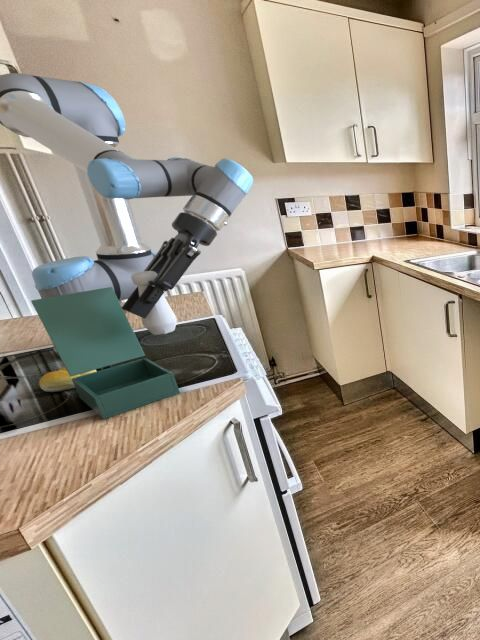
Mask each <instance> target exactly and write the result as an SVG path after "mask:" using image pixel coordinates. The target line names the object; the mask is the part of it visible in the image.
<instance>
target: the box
mask: <svg viewBox="0 0 480 640" xmlns="http://www.w3.org/2000/svg"><path fill="white" fill-rule="evenodd" d="M96 371H97V372H93V373H90V374H86V375H83V376H79V377H76V378H72V381H73V383H74V386H75V388H74V389H75V390H76V393H77V394H78V397H79V399H80V400H81V401H82V402H83V403H84V404H86V405H87V406H88V407H89V408H91V410H93V412H95V413H96V414H97V415H98V416H100V417H101V418H102V419H103V420H106V419H109V418H112V417H114V416H117V415H121V414H123V413H126V412H129V411H131V410H135V409H137V408H140V407H143V406H146V405H148V404H152V403H154V402H158V401H160V400H163V399H165V398H166V399H167V398H168V397H171V396H175V395H177V394H180V392H181V391H180V389H179V386H178V382H177V381H176V378H175V375H174V373H173V372H172V371H171V370H168V369H167V368H165V367H163V366H161V365H159V364H157V363H156V362H155V361H153V360H151V359H149V358H147V357H144V358H140V359H139V358H138V359H135V360H132V361H129V362H125V363H122V364H119V365H118V364H117V365H116V366H111V367H108V368H107V367H106V368H104V369H99V370H96Z"/></svg>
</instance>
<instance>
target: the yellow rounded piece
mask: <svg viewBox="0 0 480 640" xmlns="http://www.w3.org/2000/svg"><path fill="white" fill-rule="evenodd" d="M97 371H98V370H97V369H96V370H92V371H89V372H85V373H82V374H78V375H75V376H71V377H70V375H69V373H68V372H67V370H66V368H65V366H64V365H63V366H62V367H61V368H60V369H59V370H53V371H49V372H47V373H45V374H44V375H42V376H41V378H40V379H39V382H38V385H39V387H40V389H41V390H42V391H44V392H47V393H57V392H63V391H68V390H73V389H76V388H75V386H74V383H73V381H72V378H76V377H79V376H83V375H86V374H90V373H93V372H97Z"/></svg>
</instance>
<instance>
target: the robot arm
mask: <svg viewBox="0 0 480 640" xmlns="http://www.w3.org/2000/svg"><path fill="white" fill-rule="evenodd" d="M0 125H1V126H2V127H4V128H6V129H8V130H9V131H10V132H13V133H14V134H16V135H19V136H22V137H25V138H30V139H32V140H34V141H35V142H37V143H39V144H40V145H42V146H44V147H46V148H47V149H48V150H49V151H51V152H53V153H55V154H57V155H58V156H60V157H62V158H63V159H64V160H66V161H68V162H69V163H71V164H72V165H73V167H74V170H75V173H76V175H77V176H76V177H77V179H78V181H79V185H80V187H81V190H82V193H83V196H84V199H85V203H86V205H87V208H88V212H89V214H90V216H91V219H92V223H93V226H94V229H95V232H96V234H97V238H98V241H99V244H100V246H99V247H98V248H97V249H96V250H95V254H96V258H97V259H96V260H94V259H93V258H92V257H91V256H83V255H82V256H81V255H80V256H73V257H69V258H62V259H57V260H54V261H50V262H46V263H42V264H40V265H37V266H36V267H35V268H33V270H32V271H31V275H32V279H33V281H34V285H35V289H36V291H38V294H39V296H40V299H43V298H49V297H55V296H61V295H66V294H72V293H78V292H84V291H90V290H96V289H102V288H108V287H112V288H113V290H114V292H115V294H116V296H117V298H118V300H119V302H122V301H125V300H126V301H125V302H124V304H123V305H122V308H121V309H123V311H124V312H125V311H126V312H128V313H131V314H133V315H135V316H138V317H140V318H141V319H142V318H144V319H145V318H146V317H147V315H148V314H149V313H150V311H151V310H152V309H153V307H154V306H155V304H156V303H157V302H158V300H159V299H160V298H161V296H162V295H164V293H165V292H167V291H169V290H170V291H172V290H174V289H175V287H176V285H177V284H178V283H179V281H180V280H181V278H182V277H183V275H184V274H185V273H186V272H187V270H188V269H189V268H190V266H191V265H192V264H193V262H194V261H195V260H196V259H197V258H198V256H200V255H201V252H202V251H201V250H200V249H198V247H199V245H201V246H205V247H209V246H210V245H211V244H212V243H213V242H214V240H215V238H216V237H217V235H218V232H219V231H221V230H222V228H223V227H225V226H228V219H229V218H230V217H231V216H232V214H233V213H234V212H235V210H236V209H237V208H238V206H239V205H240V203H241V202H242V201H243V199H244V198H245V197H246V195H248V192H249V191H250V189H251V187H252V186H253V184H254V178H253V176H252V174H251V173H250V171H248V170H247V169H246V168H245V167H244V166H242V165H241V164H240V163H238V162H236V161H234V160H232V159H230V158H226V157H225V158H221V159H220V160H219V161H217V162H216V163H215V164H214V165H213V166H212V165H208V164H204V163H202V162H201V163H200V162H198V161H195V160H192V159H190V158H185V157H184V158H183V157H177V156H174V157H170V158H168V159H165V160H164V159H139V158H138V159H137V158H133V157H131V156H130V155H128V154H126V153H124V152H122V151H121V150H119V149H117V147H118V146H120V144H121V143H120V140H119V137H121V136H123V135H124V134H125V132H126V120H125V117H124V114H123V112H122V109H121V107H120V106H119V104H118V103H117V101H116V100H115V99H114V97H113V96H112V95H110V94H109V92H108V91H106V90H105V89H103V88H102V87H100V86H98V85H95V84H91V83H87V82H86V83H85V82H82V81H78V80H68V79H61V78H54V77H46V76H39V75H32V74H27V73H19V72H11V73H9V72H8V73H4V74H0ZM189 196H191V197H190V198H189V199H188V201H187V202H186V203H185V205H184V206H183V208H182V210H183V211H182V212H179V213H178V214H177V216H176V217H175V218H174V220H173V222H172V223H171V227H172V229H173V230H175V231H177V234H176V235H175V236H173V237H171V238H170V239H169V240H164V241H163V242H162V245H161V246H160V248H159V250H158V251H157V252H153V251H152V249H151V247H150V246H148V245H146V244H145V243H143V241H142V239H141V237H140V232H139V227H138V225H137V222H136V219H135V215H134V212H133V209H132V205H131V202H130V200H133V199H134V200H135V199H148V198H149V199H150V198H168V197H169V198H170V197H171V198H173V197H189ZM142 271H154V272H156V273H157V277H156V279H155V280H154V281H148V283H149V284H151V285H148V286H147V288H146V289H145V290H144V292H143V293H142V294H141V296H140V297H139V290H138V285H135V284H134V283H133V281H132V278H131V276H132V275H133V274H134V273H137V272H142ZM152 285H153V286H152ZM52 345H53V344H52ZM52 348H53V351H54V354H55V355H56V356H57V357H60V356H59V354H58V352H57V350H56V348H55V346H54V345H53V346H52Z"/></svg>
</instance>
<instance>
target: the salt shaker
mask: <svg viewBox="0 0 480 640" xmlns="http://www.w3.org/2000/svg"><path fill="white" fill-rule="evenodd" d="M156 277H157V273H156V272H154V271H142V272H137V273H134V274H133V275H132V276H131V278H132V281H133V283H134V284H135V285H138V290H139V297H140V296H141V294H142V293H143V292H144V290H145V289H146V288H147V286H148V285H151V284H149V283H148V281H154V280H155V279H156ZM152 286H153V285H152ZM141 323H142V325H143V327H144V328H145V329H146V330H147V331H149V333H151V334H152V335H154V336H158V335H159V336H160V335H166V334H170V333H173V332H174V331H175V330H176V326H177V323H178V318H177V316H176V315H175V312H174V311H173V309H172V307H171V305H170V304H169V301H168V300H167V299H166V297H165V295H164V294H163V295H162V296H161V298H160V299H159V300H158V302H157V303H156V304H155V306H154V307H153V309H152V310H151V311H150V313H149V314H148V315H147V317H146V318H145V319H144V318H142V317H141Z"/></svg>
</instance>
